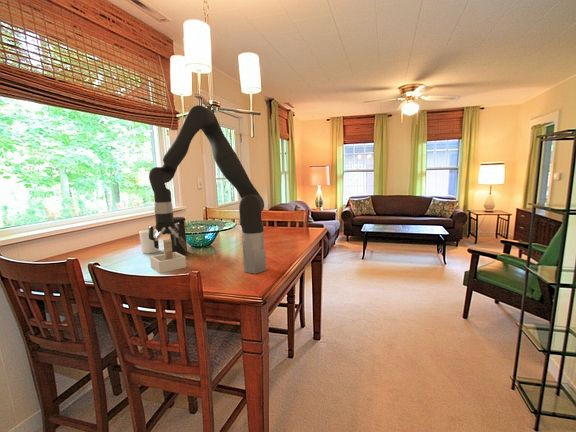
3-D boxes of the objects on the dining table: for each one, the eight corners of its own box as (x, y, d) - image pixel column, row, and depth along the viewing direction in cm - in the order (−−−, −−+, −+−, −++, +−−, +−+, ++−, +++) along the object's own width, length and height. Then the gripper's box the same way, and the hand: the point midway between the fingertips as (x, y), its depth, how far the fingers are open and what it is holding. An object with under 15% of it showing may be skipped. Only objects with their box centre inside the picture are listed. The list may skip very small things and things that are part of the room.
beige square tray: (186, 267, 139) (185, 256, 138) (159, 273, 131) (158, 262, 130) (176, 261, 148) (175, 251, 147) (150, 267, 140) (149, 256, 139)
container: (169, 256, 157) (166, 218, 154) (171, 252, 166) (168, 216, 163) (187, 255, 159) (184, 217, 157) (188, 250, 168) (185, 215, 165)
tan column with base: (178, 265, 138) (176, 239, 136) (165, 268, 134) (163, 242, 132) (173, 262, 143) (171, 237, 141) (160, 265, 139) (158, 240, 137)
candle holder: (155, 253, 163) (153, 232, 161) (137, 254, 163) (135, 232, 162) (163, 249, 173) (161, 228, 171) (146, 249, 173) (144, 229, 171)
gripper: (150, 214, 128) (153, 251, 130) (182, 211, 137) (185, 245, 140) (144, 212, 134) (148, 248, 136) (176, 209, 143) (179, 243, 145)
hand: (166, 246), depth 138 cm, fingers open, 8 cm apart
